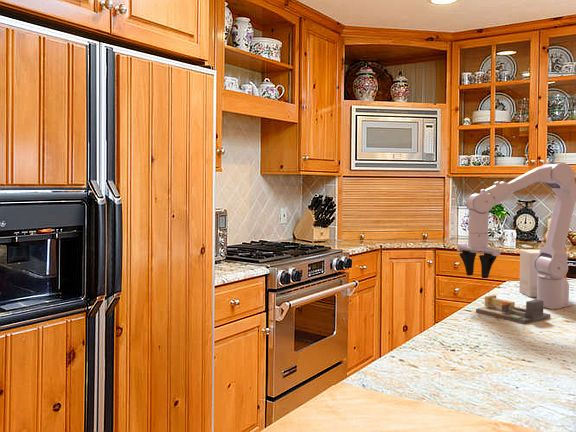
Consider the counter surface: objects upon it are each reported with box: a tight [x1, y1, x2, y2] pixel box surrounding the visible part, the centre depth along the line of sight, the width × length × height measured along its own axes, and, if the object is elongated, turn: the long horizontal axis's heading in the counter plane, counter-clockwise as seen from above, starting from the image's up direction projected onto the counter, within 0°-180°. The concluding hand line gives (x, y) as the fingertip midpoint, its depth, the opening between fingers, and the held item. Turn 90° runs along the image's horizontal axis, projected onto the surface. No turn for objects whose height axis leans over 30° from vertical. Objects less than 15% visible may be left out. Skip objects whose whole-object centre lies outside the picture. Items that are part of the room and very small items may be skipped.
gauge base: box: [475, 299, 551, 325], centre depth 159 cm, size 12×16×5 cm
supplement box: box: [518, 249, 540, 298], centre depth 187 cm, size 9×9×15 cm
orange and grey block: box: [502, 300, 509, 312], centre depth 157 cm, size 2×1×3 cm, turn 123°
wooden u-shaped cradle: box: [484, 294, 516, 309], centre depth 162 cm, size 6×8×3 cm
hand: (477, 276), depth 170 cm, fingers open, 5 cm apart
